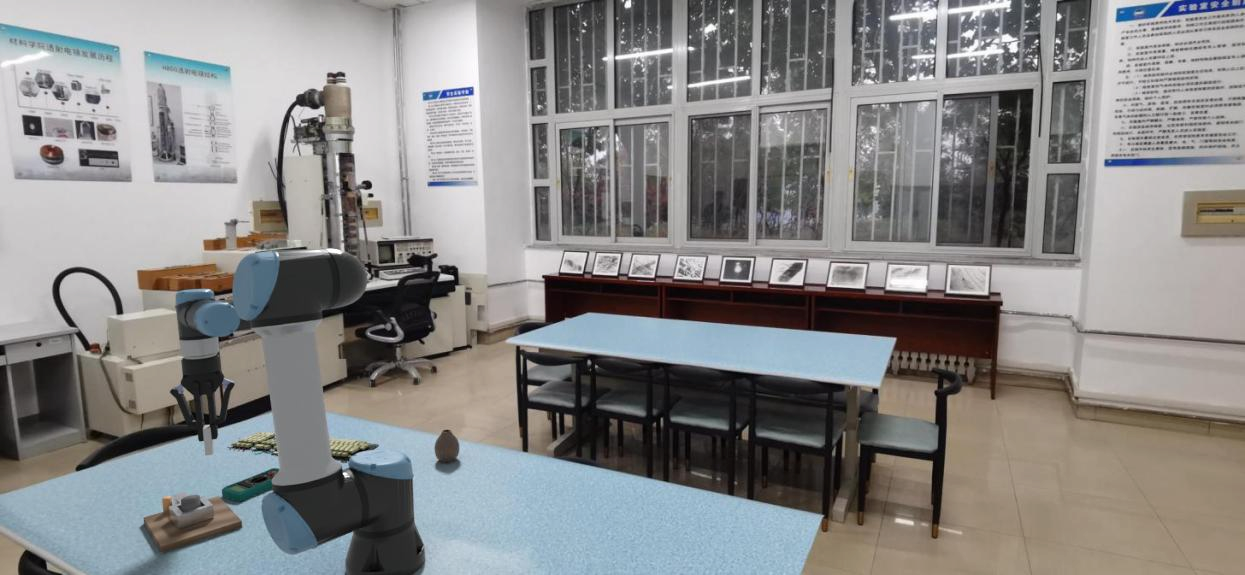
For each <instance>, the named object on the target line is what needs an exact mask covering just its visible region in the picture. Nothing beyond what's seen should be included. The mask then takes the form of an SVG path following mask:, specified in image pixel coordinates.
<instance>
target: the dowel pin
mask: <svg viewBox="0 0 1245 575" xmlns="http://www.w3.org/2000/svg"><path fill="white" fill-rule="evenodd" d="M161 501H162V502H161V503H162V512H163V513H164V514H169V506H172V505H173V496H171V495H168V496H163V497H162V498H161Z"/></svg>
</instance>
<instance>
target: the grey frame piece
mask: <svg viewBox="0 0 1245 575" xmlns="http://www.w3.org/2000/svg"><path fill="white" fill-rule="evenodd" d="M186 496H189V494H188V493H187V492H185V491H182V492H179V493H175V494H173V495H172V506H169V513H170V520H171V521H172V522H173V523H174V524H175V525H176V526H177V527H178V528H179V529H181V528H184V527H187V526H190V525H193V524H196V523H199V522H202V521H205V520H208V519H211V518H214V509H213V504H211V503H210V502H209V501H208V500H207V499H208V498H206V497H205V496H200V503H201V507H199V508H195V509H192V510H189V511H186V512H182V509H181V499H182V498H184V497H186Z"/></svg>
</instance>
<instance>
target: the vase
mask: <svg viewBox="0 0 1245 575" xmlns="http://www.w3.org/2000/svg"><path fill="white" fill-rule="evenodd" d="M433 449H434V455H435V457H436V459H437V460H438V461H439V462H441V463H443V462H448V463H452V462H454V461H455V460H456V459H457V458H458V456H459V453H460V441H459V439H458V437H456V435H455V434H454V433H453V432H452V430H451V429H449V428H448V429H442V431H441V434H440V435H439V436H438V437H437V439H436V440H435V443H434V448H433ZM453 460H454V461H453ZM451 461H452V462H451Z"/></svg>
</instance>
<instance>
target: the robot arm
mask: <svg viewBox="0 0 1245 575" xmlns="http://www.w3.org/2000/svg"><path fill="white" fill-rule="evenodd" d="M366 271H367V270H366V268H365V267H364V265H363V264H362V262H361V261H360V260H359V259H358V258H357V257H356V256H354V255H352V254H351V253H349V252H347V251H344V250H341V249H336V248H331V247H330V248H317V249H316V248H315V249H313V248H312V249H311V248H310V249H283V250H281V249H280V250H266V251H259V252H251V253H249V254H247V255H246V256H245V255H244V257H243V258H241V260H240V262H239V263H238V264H237V267H236V269H235V271H234V276H233V282H232V298H230V299H222V300H221V299H220V300H216V298H215V292H214V291H213V289H210V288H196V289H195V288H194V289H193V288H192V289H184V290H179V291H178V292H176V293H175V296H174V297H175V305H174V309H175V313H176V320H177V330H178V341H179V342H178V343H179V351H180V356H181V357H182V358H181V361H180V362H181V372H182V373H181V374H182V377H181V380H180V383H179V384H177V385H176V386H173V387H172V388H171V389H170V390H169V393H170V394H171V396H173V398H174V399H175V400H176V402H177V404H178V406H179V409H180V413H181V414H182V416H183V419H184V421H185V423H186V426H187V427H188V428H195V429H196V430H197V440H198V442H203V445H204V455H205V457H206V456H212V455H214V453H215V445H214V440H217V439H218V437H219V429H218V427H219V426H218V425H220V424H222V423H224V422H225V421H226V419H227V413H228V407H229V403H230V398H231V393H232V390H233V388H234V387H235V385H236V380H234V379H227V378H226V377H225V374H224V373H223V372H222V366H221V365H222V363H221V356H220V355H219V352H220V345H219V337H221V338H222V337H226V336H229V335H231V334H233V333H239V332H245V331H246V332H247V331H253V332H254V333H255V334H257V335H258V336H260V338H261V339H262V341H261V342H262V348H263V353H264V354H263V355H264V361H265V363H264V364H265V369H266V375H267V376H266V378H267V385H268V392H269V398H270V406H271V413H272V421H273V427H274V428H273V429H274V433H275V437H276V445H277V452H278V456H277V458H278V465H279V466H278V467H279V468H278V469H279V471H278V473H277V474H276V475H275V476H274V477H273V479H272V488H271V489H272V492H268V493H267V494H266V495H265V496H263V498H262V500H261V507H260V508H261V514H262V519H263V521H264V525H265V527H266V530H267V532H268V534H269V535H270V537H271V539H272V541H273V542H274V544H275V545H276V546H277V547H278V549H279V550H280V551H282V552H283V553H285V554H288V555H291V556H292V555H298V554H301V553H303V552H307V551H309V550H315V549H317V548H318V547H320V546H322V545H324V544H327V543H329V542H332V541H334V540H336V539H338V538H341V537H343V536H345V535H348V534H351V533H352V535H351V540H350V544H349V546H348V550H347V553H346V557H345V564H344V566H345V567H344V568H345V575H413V574H414V573H415V572H416V571H418V570H419V569H420V568H422V566H423V564H424V562H425V559H426V550H425V544H424V542H423V539H422V537H421V534H420V531H419V529H418V528H417V525H416V522H415V502H414V472H413V465H412V460H411V458H410V456H408V455H407V454H406V453H403V452H401V451H398V450H392V449H373V450H369V451H363V452H359V453H357V454H354V455H353V456H352V457H351V458H350V459H349V461H347V464H348V467H347V468H343V464H342V462H341V461H338V460H337V459H333V458H332V455H331V447H330V440H329V438H330V435H329V426H328V419H327V412H326V404H325V396H324V388H323V382H322V373H321V372H322V371H321V364H320V360H319V359H320V358H319V350H318V344H317V336H316V335H317V334H316V330H317V329H318V327H319V326H320V325H321V323H322V322H323V313H322V312H323V311H326V310H334V309H338V308H343V307H346V306H349V305H351V304H354V303H355V302H356V301H358V300H359V299H361V297H362V296H363V294H364V293H365V292H366V289H367V287H368V286H367V285H368V275H367V272H366ZM221 384H223V385H222V388H223V389H224V392H223V395H222V397H223V398H222V401H221V407H220V412H219V417H217V416H218V415H217V406H216V405H217V404H216V392H217V390H218V389H219V387H221ZM184 389H185V390H186V391H187V392H189V393H190V394H191V395H192V396H193V401H194V414H195V417H194V415H193V414H192V410H191V409H190V408H191V407H190V406H189V404H188V401H187V399H186V396H185V394H184V392H185V390H184ZM203 395H205V396H206V399H207V408H208V411H207V412H208V419H209V424H205V422H206V421H205V414H204V405H203Z"/></svg>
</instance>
